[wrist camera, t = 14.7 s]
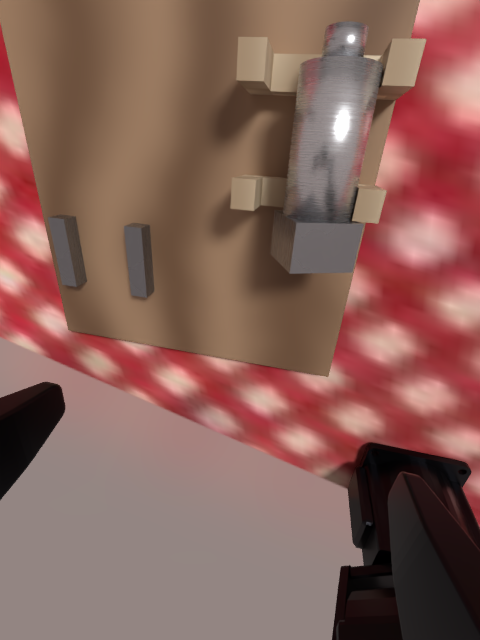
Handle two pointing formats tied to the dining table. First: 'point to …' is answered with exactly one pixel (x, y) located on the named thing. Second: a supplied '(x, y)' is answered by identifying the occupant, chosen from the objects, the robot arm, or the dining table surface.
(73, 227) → the socket
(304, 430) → the dining table surface
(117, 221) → the board
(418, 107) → the dining table surface
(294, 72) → the rack
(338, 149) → the grey piece
